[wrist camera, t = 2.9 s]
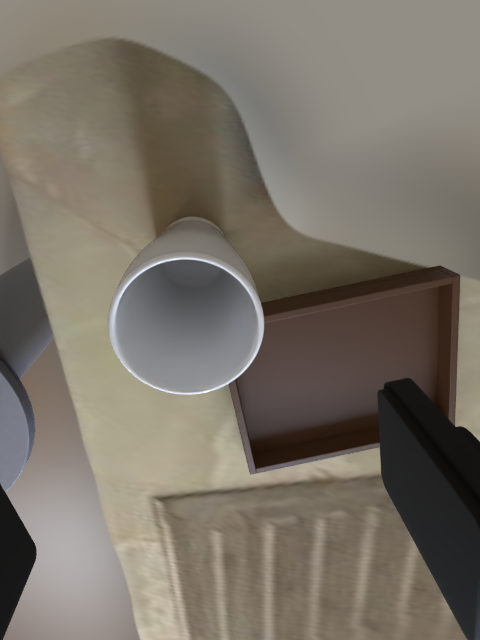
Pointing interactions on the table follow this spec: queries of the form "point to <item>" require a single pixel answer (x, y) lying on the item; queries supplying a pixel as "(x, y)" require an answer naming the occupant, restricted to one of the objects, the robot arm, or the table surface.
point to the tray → (345, 365)
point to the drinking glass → (187, 311)
